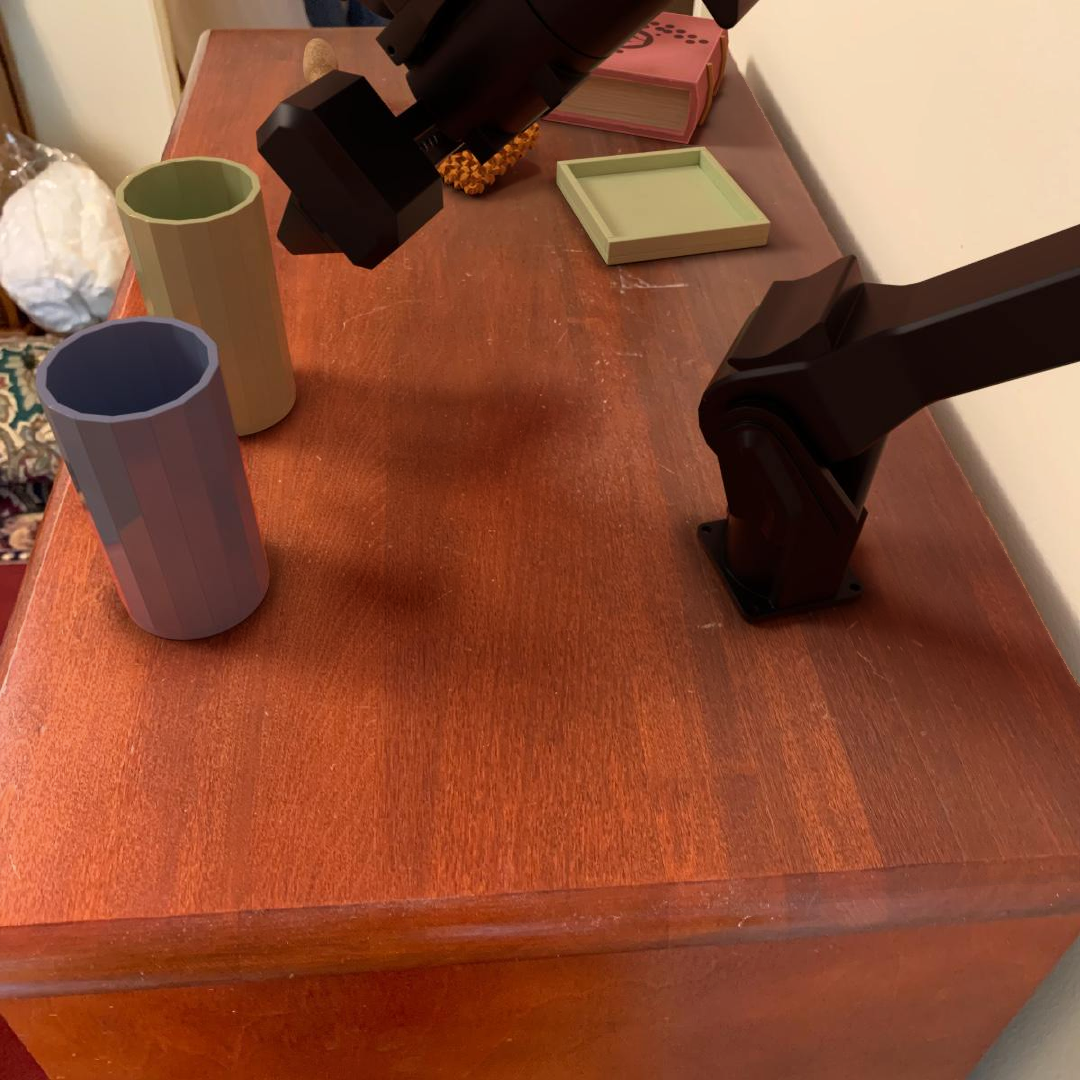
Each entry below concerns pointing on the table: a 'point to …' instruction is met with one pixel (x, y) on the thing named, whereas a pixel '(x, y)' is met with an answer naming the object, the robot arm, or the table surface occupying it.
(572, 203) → the green tray
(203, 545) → the blue cup
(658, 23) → the book
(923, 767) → the table surface
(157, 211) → the green cup
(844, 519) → the robot arm
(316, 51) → the figurine
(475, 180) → the ornament
